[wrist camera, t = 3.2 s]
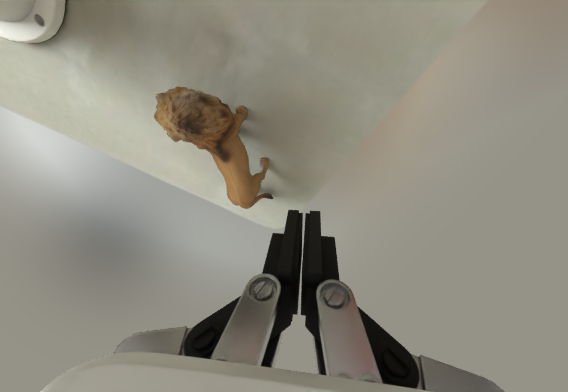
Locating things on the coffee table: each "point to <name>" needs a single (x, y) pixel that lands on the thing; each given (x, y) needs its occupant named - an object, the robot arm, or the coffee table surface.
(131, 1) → the coffee table surface
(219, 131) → the lion figurine
